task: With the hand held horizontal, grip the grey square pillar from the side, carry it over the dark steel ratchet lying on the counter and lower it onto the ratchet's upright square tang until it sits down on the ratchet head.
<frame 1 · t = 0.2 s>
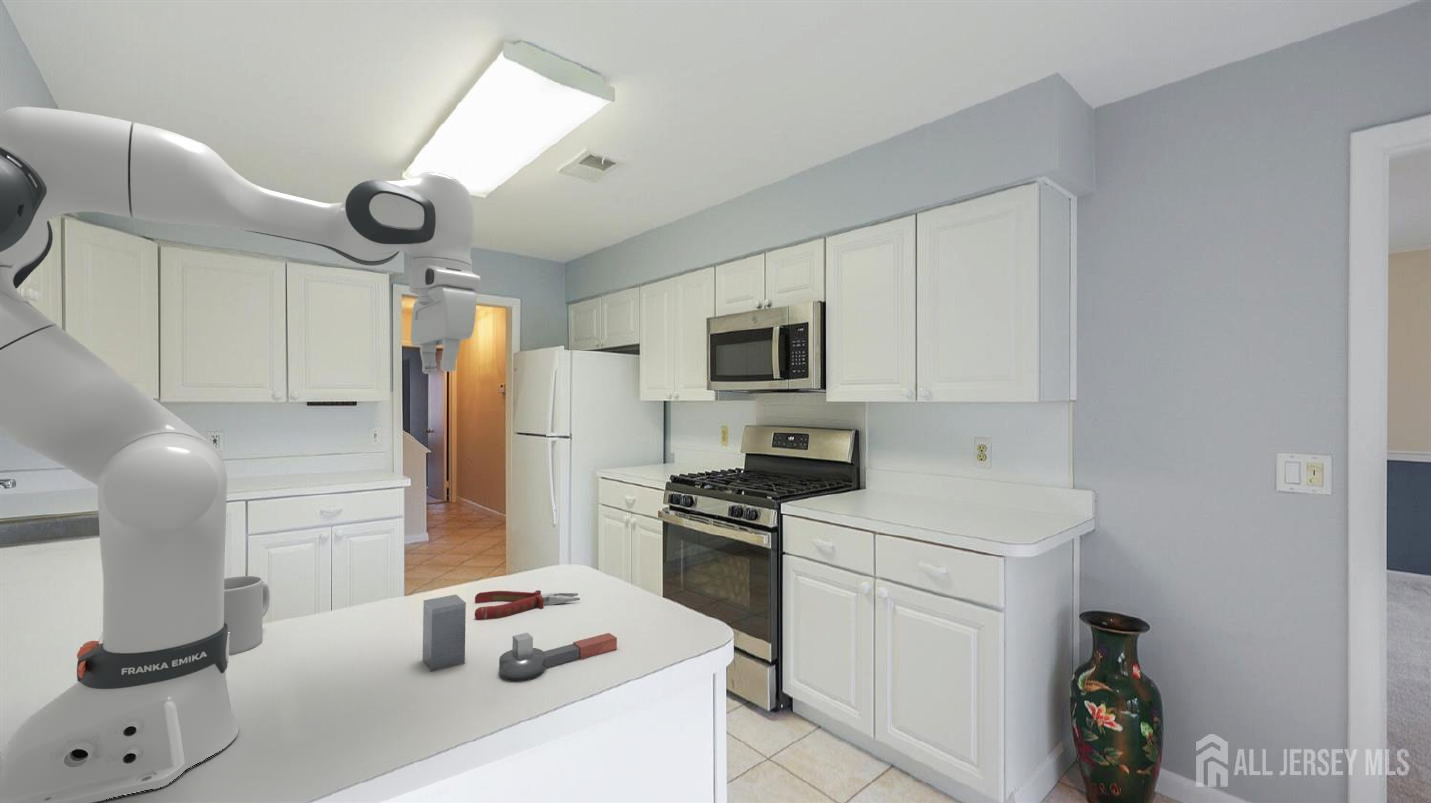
hand: (438, 372, 94), 48 cm above the counter, fingers open, 8 cm apart
pliers: (522, 611, 127), on the counter
mug: (240, 643, 107), on the counter
grey square pillar: (443, 661, 101), on the counter
ratchet: (522, 671, 98), on the counter
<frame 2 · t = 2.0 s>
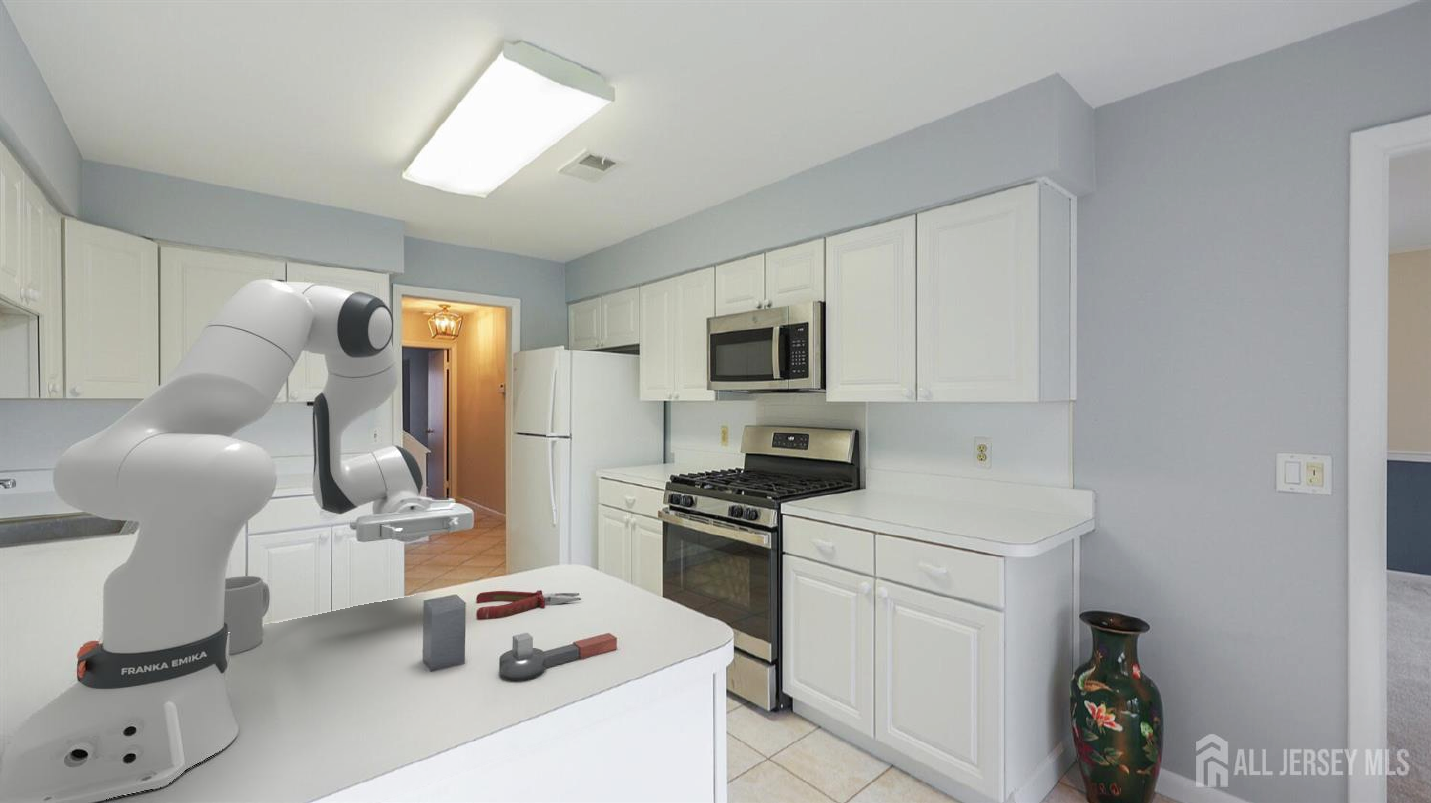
hand: (426, 531, 110), 19 cm above the counter, fingers open, 8 cm apart
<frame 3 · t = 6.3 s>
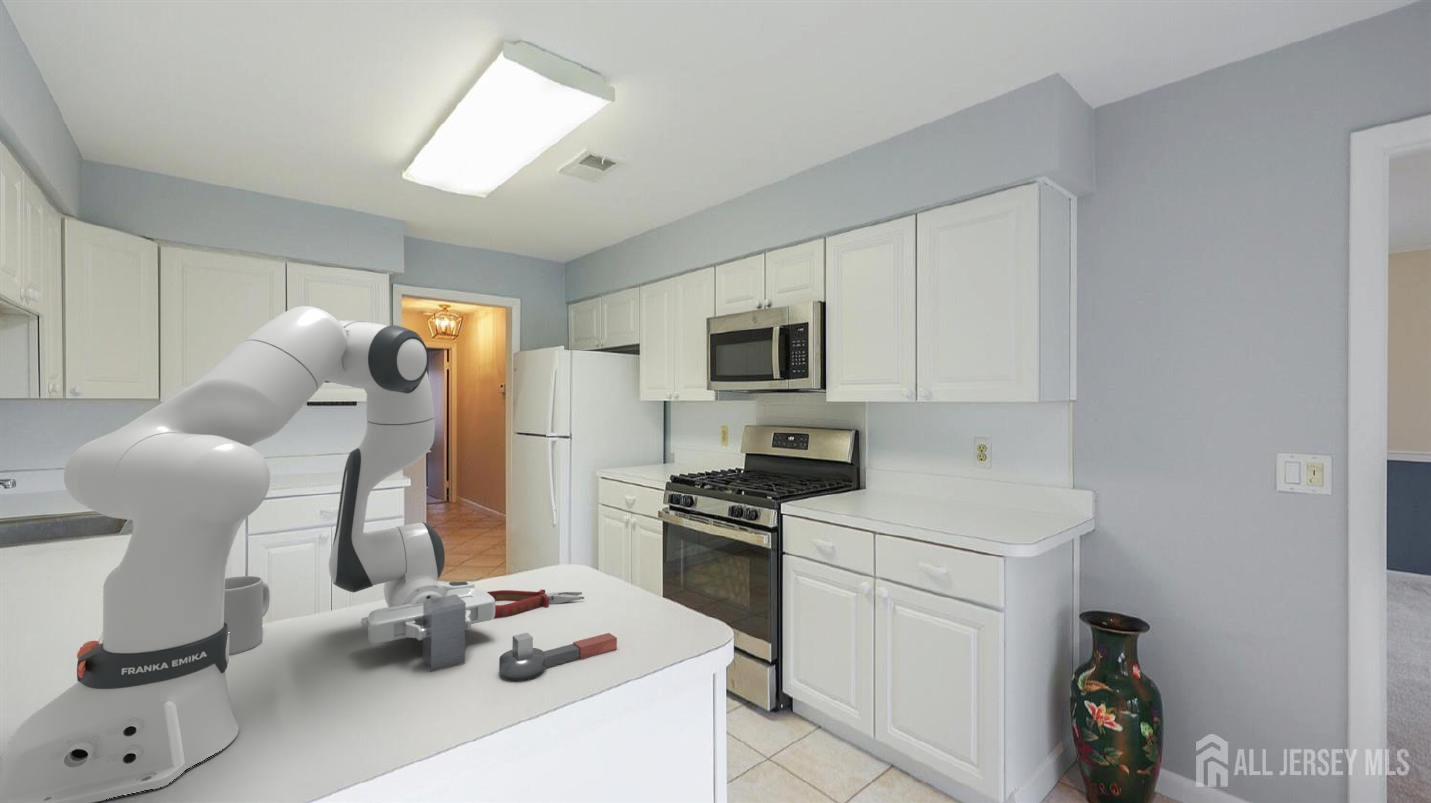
hand: (445, 630, 100), 6 cm above the counter, fingers closed on grey square pillar, 5 cm apart
grey square pillar: (443, 661, 101), on the counter, touching gripper
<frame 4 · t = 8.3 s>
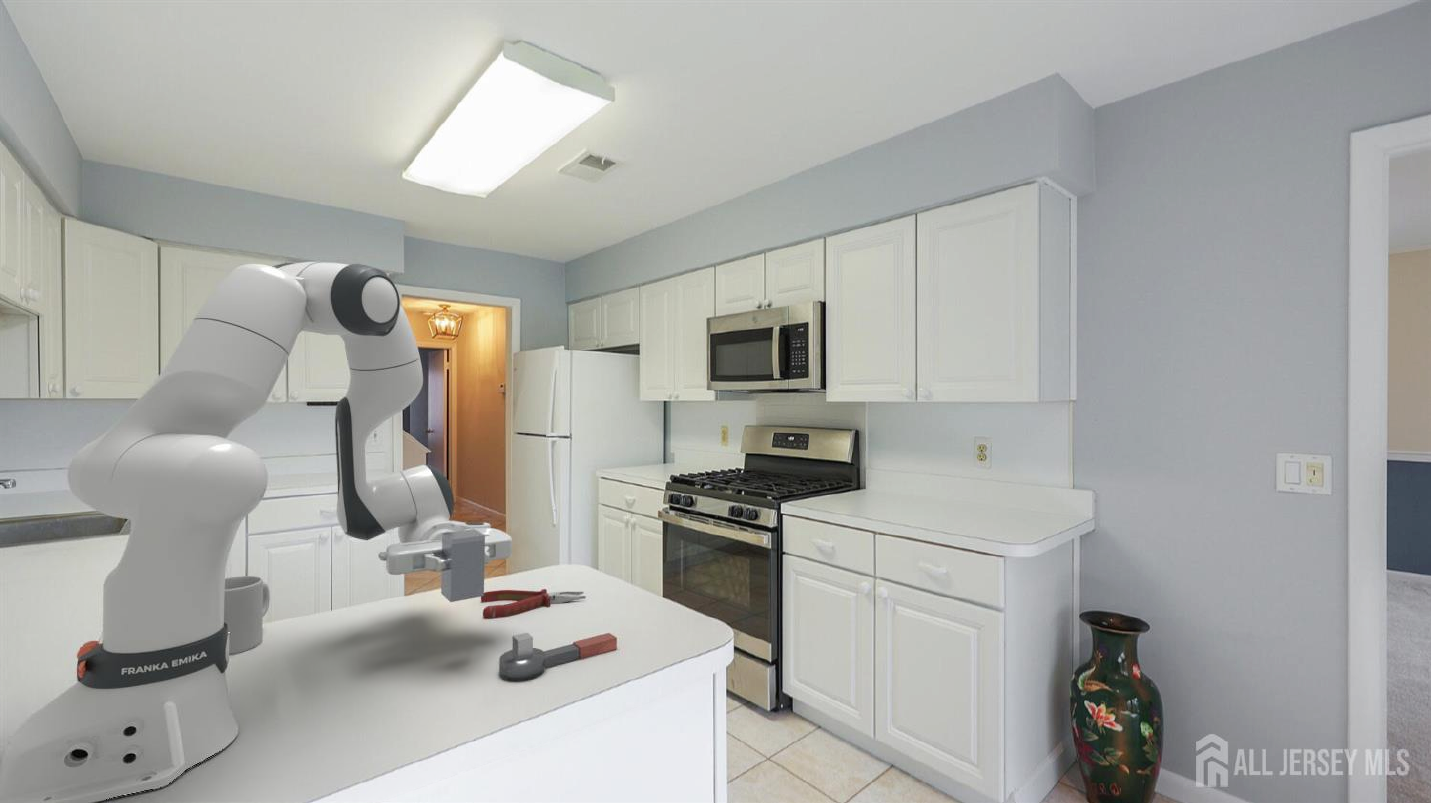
hand: (465, 562, 100), 17 cm above the counter, fingers closed on grey square pillar, 5 cm apart
grey square pillar: (462, 594, 101), point 11 cm above the counter, touching gripper
when the fingers open (9 cm above the counter, at t = 10.6 s): grey square pillar drops 1 cm, resting on ratchet.
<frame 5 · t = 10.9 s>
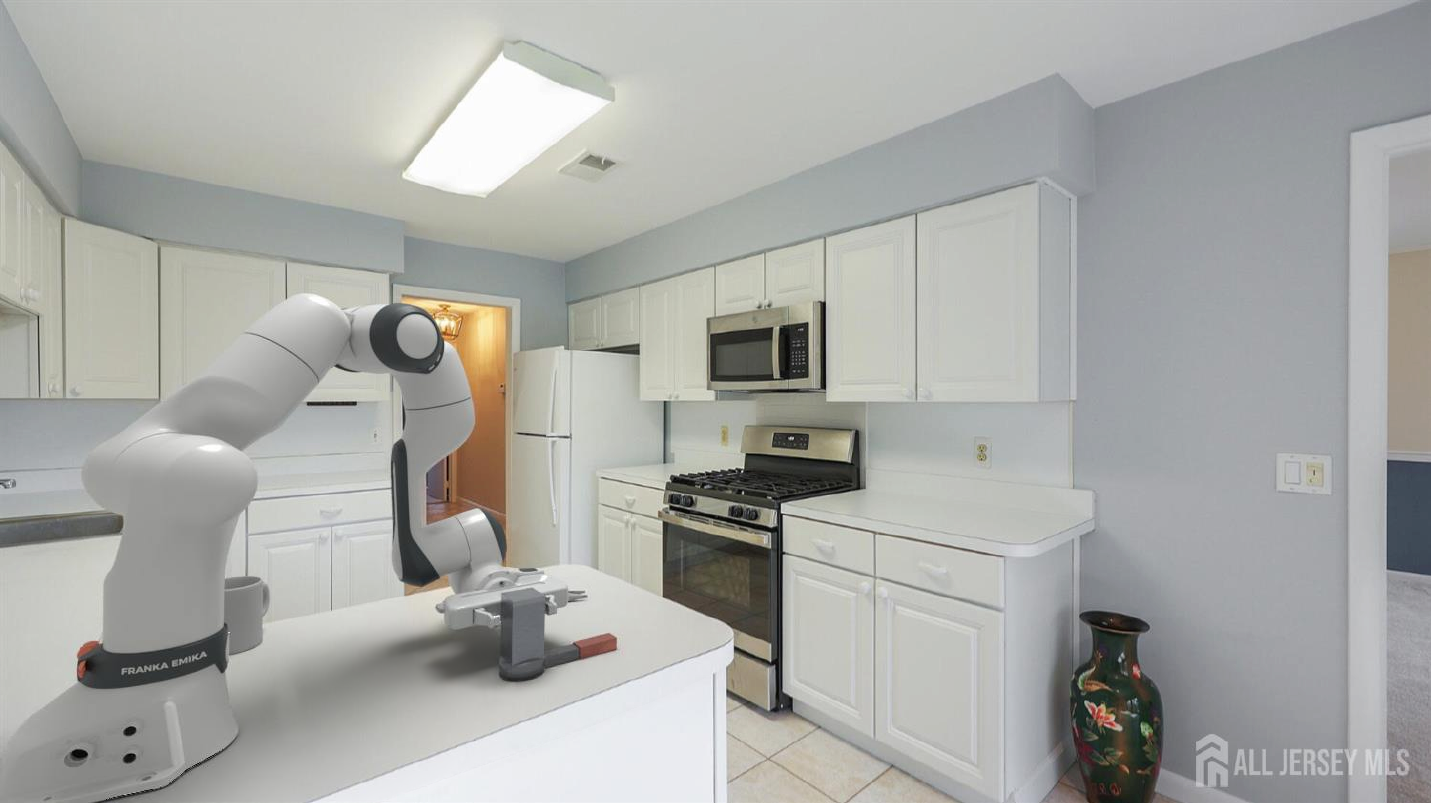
hand: (525, 616, 97), 9 cm above the counter, fingers open, 8 cm apart
grey square pillar: (521, 656, 98), point 2 cm above the counter, touching ratchet
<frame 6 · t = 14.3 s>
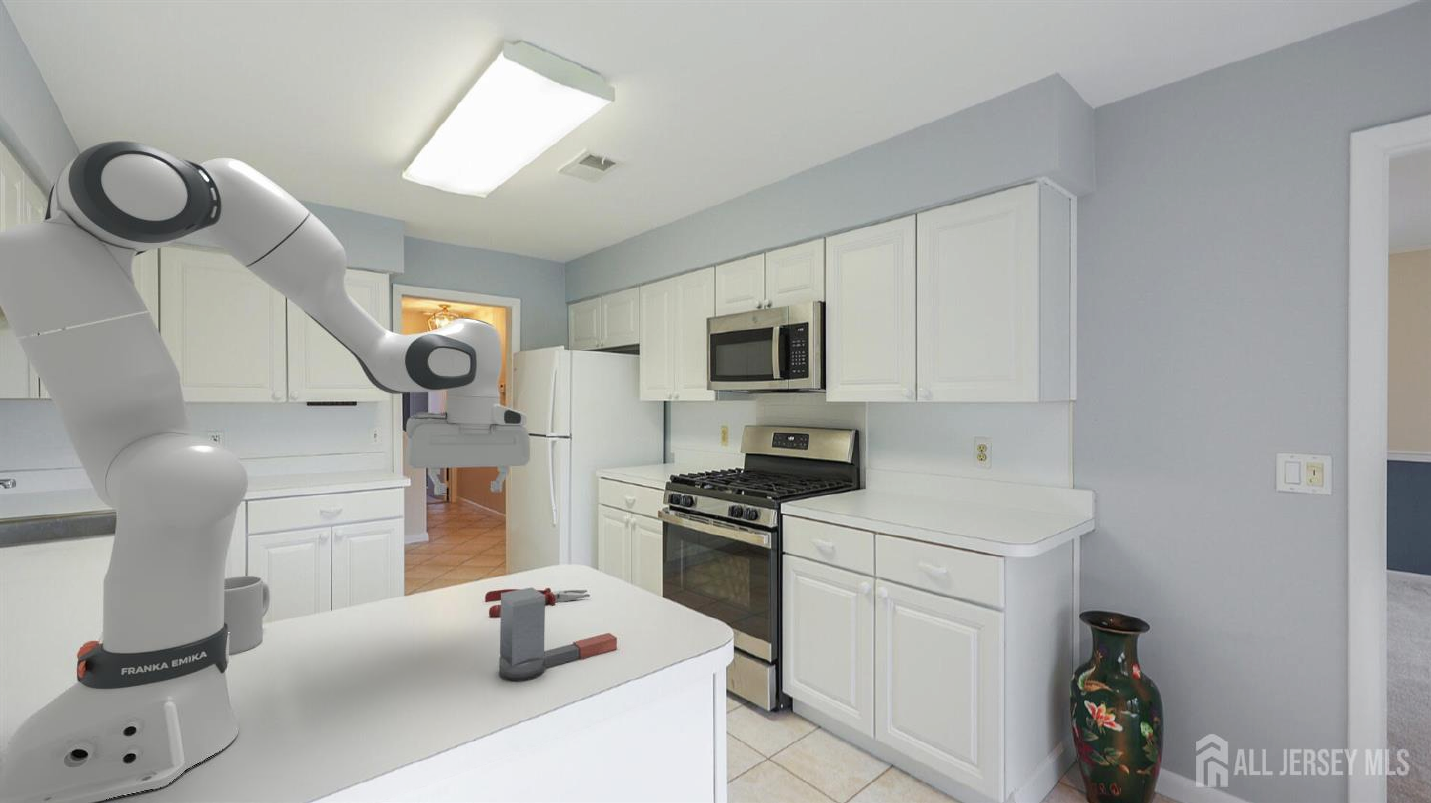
hand: (468, 493, 106), 27 cm above the counter, fingers open, 8 cm apart
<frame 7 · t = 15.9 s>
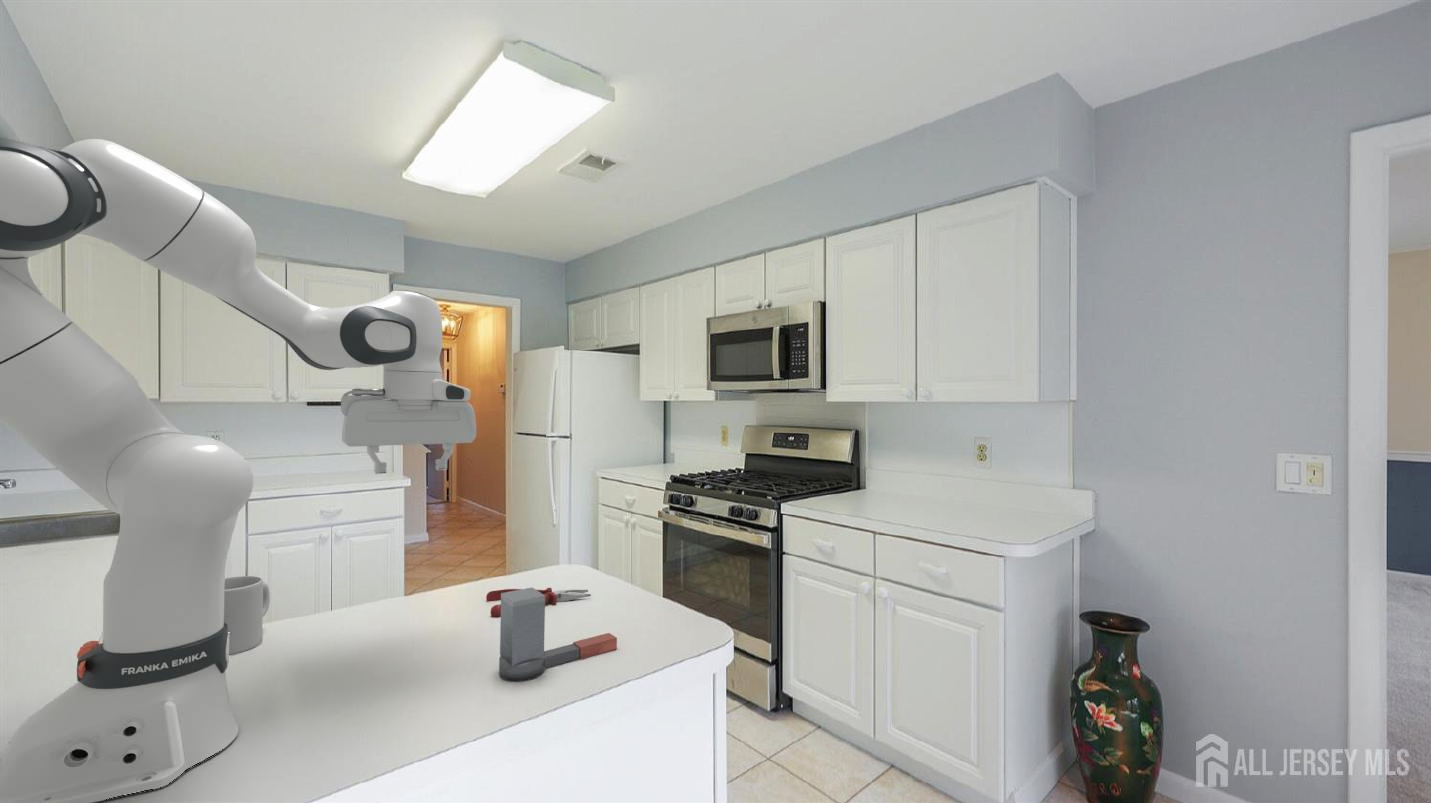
hand: (411, 471, 103), 31 cm above the counter, fingers open, 8 cm apart
at the end: grey square pillar 0.1 cm off-centre on the ratchet, point 2.4 cm above the ratchet's base; grey square pillar tilted 0°; the gripper is holding nothing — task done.
